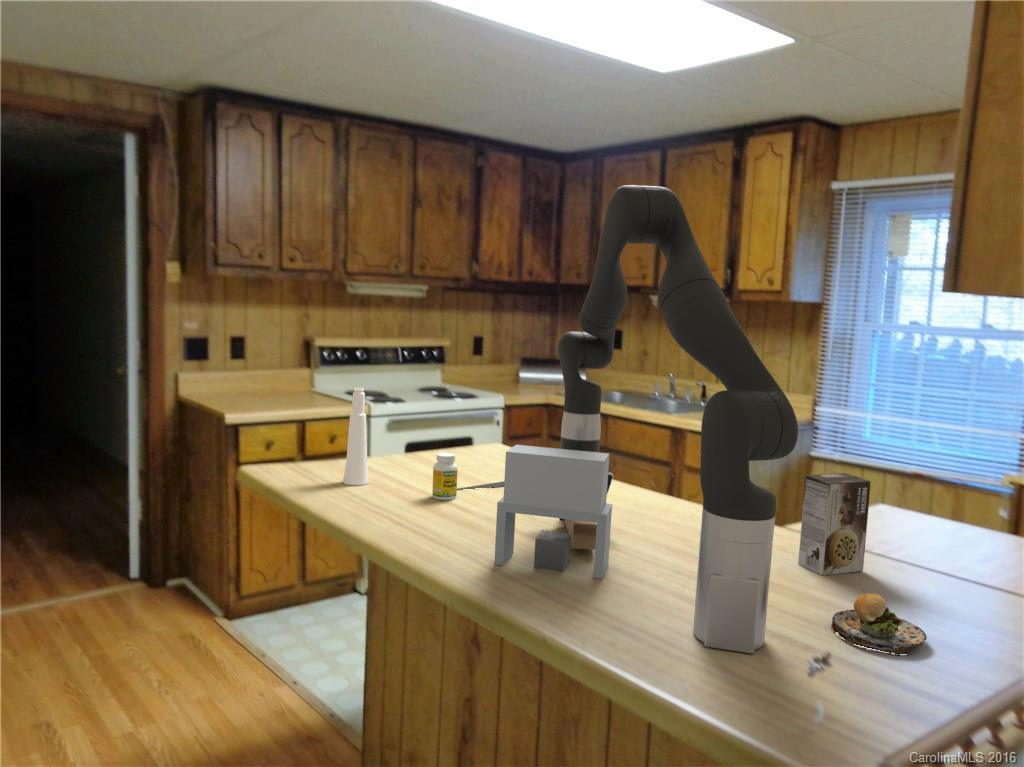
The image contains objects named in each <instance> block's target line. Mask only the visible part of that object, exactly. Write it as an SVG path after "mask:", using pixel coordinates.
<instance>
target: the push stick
mask: <svg viewBox="0 0 1024 767" xmlns="http://www.w3.org/2000/svg"><path fill="white" fill-rule="evenodd" d="M563 522H564V524H565V529H566V531H567V532H566V533H567V534H571V540H570V547H571V548H572V549H573V550H574V549H575V550H593V551H595V544H596V529H597V523H595V522H586V521H578V520H569V519H564V521H563Z"/></svg>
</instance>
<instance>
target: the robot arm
mask: <svg viewBox="0 0 1024 767" xmlns="http://www.w3.org/2000/svg"><path fill="white" fill-rule="evenodd" d="M602 225H603V226H602V230H601V235H600V239H599V245H598V249H597V250H598V251H597V255H596V260H595V261H596V262H595V266H594V271H593V277H592V279H591V283H590V287H589V289H588V292H587V295H586V297H585V300H584V302H583V305H582V308H581V310H580V313H579V317H578V324H579V326H580V328H581V330H583V331H566V332H564V334H562V336H561V337H560V339H559V341H558V343H557V344H558V345H557V354H558V355H557V356H558V360H559V363H560V364H559V365H560V368H561V374H562V380H563V386H564V400H563V401H564V402H563V405H564V406H563V414H562V415H563V416H562V420H561V430H560V431H561V432H560V446H559V447H560V448H559V449H567V450H577V451H588V452H598V453H600V445H601V444H600V442H601V435H602V434H601V433H602V431H601V430H602V428H601V425H602V424H601V406H602V404H601V403H602V387H601V385H600V384H599V383H597V382H595V381H593V380H592V381H591V380H587V379H583V378H582V376H581V374H580V370H581V369H582V370H584V369H586V370H587V369H588V370H601V369H604V368H606V367H607V366H609V365H610V364H611V363H612V361H613V358H614V353H615V352H614V351H615V350H614V349H615V348H614V347H615V336H616V329H617V326H618V323H619V321H620V318H621V317H622V313H623V311H624V309H625V306H626V304H627V300H628V286H627V282H626V279H625V276H624V273H623V270H622V265H621V256H622V252H623V250H624V249H625V247H626V245H627V244H640V245H642V244H644V245H645V244H647V245H655V246H657V247H658V249H660V251H661V252H662V255H663V256H664V259H665V261H666V264H665V265H666V266H665V269H664V272H663V275H662V277H661V278H660V282H659V286H658V291H657V305H658V309H659V311H660V314H661V316H662V319H663V320H664V322H665V324H666V326H667V328H668V331H669V333H670V335H671V337H672V338H673V340H674V341H675V342H676V343H677V345H678V346H679V347H680V348H681V349H682V350H683V351H684V352H685V353H687V354H688V355H689V356H690V357H691V358H693V359H694V360H695V361H696V362H698V363H699V364H700V365H701V366H702V367H703V368H705V369H706V370H708V371H709V372H710V373H711V374H712V375H714V377H716V378H717V379H718V381H720V383H721V384H722V385H723V386H724V388H725V389H726V390H720V391H717V392H716V393H714V394H712V395H711V397H710V398H709V399H708V401H707V403H706V405H705V407H704V410H703V413H702V414H703V415H702V418H701V426H700V427H701V428H700V429H701V432H700V465H699V466H700V467H699V469H700V470H699V471H700V472H699V478H700V480H699V481H700V488H701V492H702V511H701V523H700V526H701V527H700V535H699V537H700V538H699V549H698V562H697V573H696V574H697V575H696V587H695V588H696V589H695V602H694V614H693V616H694V618H693V626H692V627H693V629H692V632H693V635H694V636H695V637H696V638H697V639H698V640H700V641H701V642H702V643H703V644H704V645H703V646H704V647H707V648H712V649H713V648H714V649H721V650H726V651H731V652H732V651H733V652H741V653H748V654H755V650H758V649H760V648H761V647H763V646H764V645H765V641H766V640H765V638H766V628H767V625H766V624H767V615H768V614H767V613H768V604H769V603H768V602H769V590H770V580H771V578H770V577H771V565H772V552H773V543H774V542H773V541H774V531H775V523H776V522H775V520H776V510H777V497H776V495H775V493H774V492H772V491H771V490H769V489H768V488H765V487H764V486H760V485H758V484H754V483H753V482H752V480H751V477H750V462H755V461H756V462H759V461H760V462H761V461H763V462H764V461H773V460H778V459H783V458H785V457H787V456H788V455H790V454H791V453H792V452H793V451H794V449H795V447H796V445H797V442H798V438H799V426H798V425H799V424H798V420H797V416H796V413H795V411H794V408H793V406H792V403H791V402H790V400H789V398H788V397H787V395H786V394H785V391H783V390H782V388H781V386H780V385H779V384H778V382H777V381H776V380H775V378H774V377H773V375H772V374H771V373H770V371H769V369H768V368H767V367H766V365H765V363H763V361H762V359H761V358H760V357H759V355H758V354H757V353H756V352H757V351H756V350H755V349H754V347H753V345H752V343H751V342H750V340H749V338H748V337H747V335H746V333H745V332H744V330H743V328H742V326H741V325H740V323H739V322H738V320H737V318H736V316H735V314H734V312H733V310H732V307H731V305H730V303H729V301H728V300H727V298H726V296H725V294H724V291H723V290H722V289H721V286H720V285H719V283H718V281H717V279H716V278H715V277H714V274H713V273H712V271H711V269H710V268H709V266H708V263H707V261H706V260H705V257H704V255H703V253H702V251H701V249H700V248H699V246H698V242H697V240H696V238H695V236H694V233H693V231H692V228H691V225H690V223H689V220H688V216H686V212H685V210H684V207H683V205H682V203H681V201H680V199H679V197H678V196H677V194H676V192H674V191H673V190H672V189H670V188H668V187H663V186H656V185H637V184H629V185H627V184H626V185H622V186H618V188H616V189H615V191H614V192H613V193H612V195H611V197H610V200H609V202H608V204H607V209H606V211H605V215H604V221H603V224H602ZM613 479H614V473H613V472H612V471H610V472H609V471H608V484H607V494H608V493H609V491H610V488H611V484H612V481H613ZM558 520H559V522H565V521H564V519H561V518H558Z"/></svg>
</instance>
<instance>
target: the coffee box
mask: <svg viewBox="0 0 1024 767" xmlns="http://www.w3.org/2000/svg"><path fill="white" fill-rule="evenodd" d="M804 480H805V481H804V491H803V492H804V493H803V503H802V504H803V505H802V512H801V514H802V517H801V528H800V537H799V538H800V539H799V549H798V550H799V551H798V560H797V561H798V562H797V564H798V565H800V566H801V567H804V568H806V569H808V570H810V571H812V572H814V573H817V574H819V575H821V576H829V575H831V576H832V575H838V574H839V575H840V574H847V573H855V572H862V571H864V564H865V552H866V542H867V541H866V539H867V531H868V530H867V529H868V518H869V509H870V508H869V507H870V495H871V483H872V481H871V480H868V479H865V478H861V477H858V476H856V475H853V474H849V473H845V472H841V473H840V472H839V473H821V474H820V473H819V474H805V479H804Z"/></svg>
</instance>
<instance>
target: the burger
mask: <svg viewBox="0 0 1024 767" xmlns="http://www.w3.org/2000/svg"><path fill="white" fill-rule="evenodd" d="M860 586H861V588H862V589H861V590H862V592H863V594H861V595H860V596H859V597H857V598H856V599H855V601H854V604H853V609H847V610H846V609H845V610H843V611H842V610H841V611H838V612H835V613H834V614H833V615H832V616H833V617H832V619H831V625H830V629H833V631H835V632H838V633H839V635H840V636H841V637H843V638H844V639H845V640H846V641H848V642H850V643H852V644H856V645H860V646H864V647H867V648H872V649H876V650H880V651H884V652H889V653H892V652H893V653H895V654H908V655H909V653H910V652H911V650H912V648H914V647H920V646H923V645H924V642H925V641H926V640H927V634H926V633H925V631H924V630H923V629H922V628H921V627H919V626H917V625H915V624H913V623H911V622H909V621H907V620H905V619H902V618H899V617H898V616H897V615H896V614H895V612H892V611H891V609H890V608H889V607H888V606H887V602H886V600H885V599H884V598H883V597H882V596H881V595H880V594H877V593H865V591H864V588H863V585H862V584H860Z"/></svg>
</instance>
